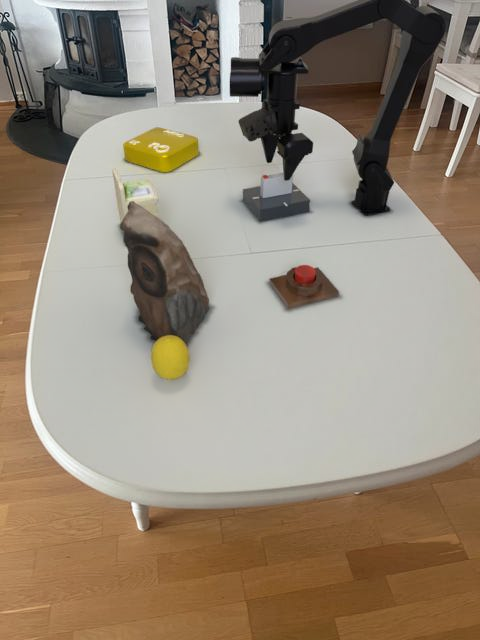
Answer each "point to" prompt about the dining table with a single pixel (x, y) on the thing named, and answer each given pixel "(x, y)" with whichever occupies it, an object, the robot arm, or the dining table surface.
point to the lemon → (170, 357)
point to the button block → (303, 289)
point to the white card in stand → (275, 185)
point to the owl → (162, 276)
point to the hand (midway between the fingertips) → (277, 171)
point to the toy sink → (134, 195)
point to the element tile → (161, 149)
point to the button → (304, 274)
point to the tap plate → (275, 203)
